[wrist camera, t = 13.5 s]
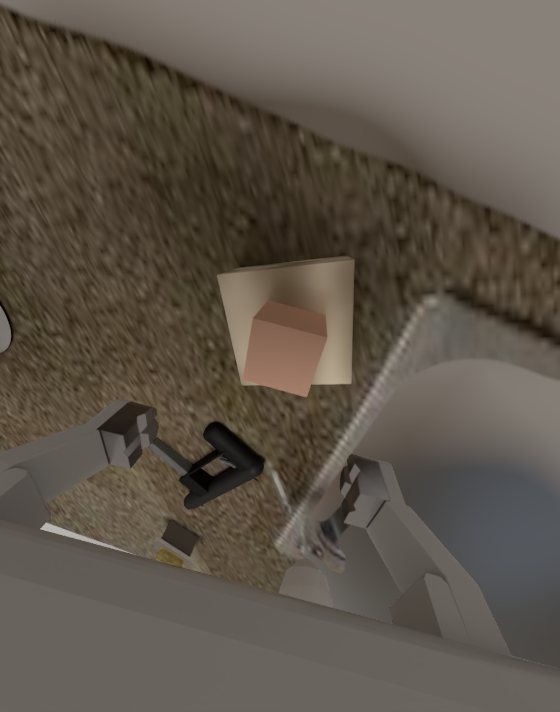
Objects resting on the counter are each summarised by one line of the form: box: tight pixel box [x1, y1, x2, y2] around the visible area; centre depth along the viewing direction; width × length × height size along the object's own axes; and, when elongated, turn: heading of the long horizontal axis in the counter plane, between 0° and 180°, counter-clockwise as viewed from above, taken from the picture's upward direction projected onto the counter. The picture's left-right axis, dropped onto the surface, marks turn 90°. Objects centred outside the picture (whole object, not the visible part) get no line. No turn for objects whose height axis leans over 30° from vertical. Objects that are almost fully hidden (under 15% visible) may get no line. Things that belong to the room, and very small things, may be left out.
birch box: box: [217, 256, 354, 385], centre depth 23 cm, size 11×11×6 cm
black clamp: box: [148, 423, 264, 509], centre depth 39 cm, size 3×20×16 cm
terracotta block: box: [243, 300, 327, 397], centre depth 18 cm, size 5×5×5 cm
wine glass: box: [279, 559, 333, 608], centre depth 30 cm, size 7×7×21 cm
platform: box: [153, 520, 198, 567], centre depth 49 cm, size 12×18×7 cm, turn 42°
